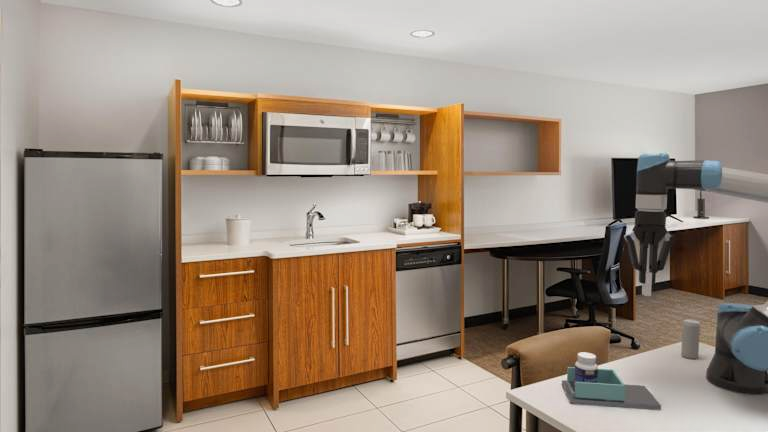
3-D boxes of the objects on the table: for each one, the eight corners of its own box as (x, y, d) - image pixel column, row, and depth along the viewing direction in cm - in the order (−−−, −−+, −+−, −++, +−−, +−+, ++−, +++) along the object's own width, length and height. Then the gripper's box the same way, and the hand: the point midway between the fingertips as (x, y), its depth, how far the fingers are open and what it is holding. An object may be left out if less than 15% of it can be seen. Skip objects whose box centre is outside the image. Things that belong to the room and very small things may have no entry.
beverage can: (684, 359, 163) (686, 323, 162) (678, 353, 167) (680, 318, 166) (700, 360, 162) (703, 323, 161) (694, 354, 166) (696, 319, 165)
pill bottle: (586, 396, 132) (588, 360, 131) (569, 388, 137) (570, 353, 136) (601, 392, 135) (602, 356, 134) (584, 384, 140) (585, 349, 139)
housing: (612, 383, 140) (613, 369, 140) (624, 400, 129) (625, 385, 129) (567, 380, 142) (567, 366, 142) (575, 397, 131) (575, 382, 131)
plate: (644, 390, 139) (644, 382, 139) (660, 410, 128) (661, 401, 127) (561, 384, 143) (561, 376, 143) (570, 403, 131) (570, 395, 131)
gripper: (670, 209, 140) (666, 292, 142) (621, 208, 142) (617, 290, 144) (682, 211, 132) (677, 299, 134) (629, 210, 134) (625, 297, 136)
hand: (646, 294), depth 139 cm, fingers closed
